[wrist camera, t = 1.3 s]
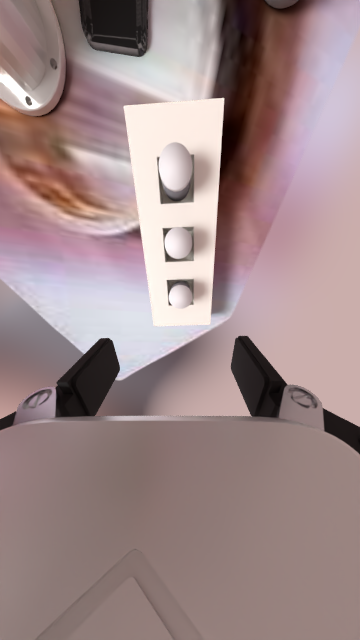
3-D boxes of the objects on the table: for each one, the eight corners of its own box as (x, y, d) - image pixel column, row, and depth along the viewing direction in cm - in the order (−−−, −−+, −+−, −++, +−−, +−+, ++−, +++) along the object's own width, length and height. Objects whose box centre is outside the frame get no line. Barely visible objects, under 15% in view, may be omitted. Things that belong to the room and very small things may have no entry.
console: (136, 138, 21) (123, 105, 16) (214, 132, 21) (224, 97, 16) (157, 316, 34) (153, 326, 29) (206, 315, 33) (210, 324, 29)
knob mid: (166, 232, 23) (163, 227, 19) (190, 231, 23) (192, 226, 19) (168, 258, 24) (165, 259, 21) (190, 257, 24) (192, 258, 20)
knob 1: (161, 166, 19) (156, 143, 15) (190, 164, 19) (192, 141, 15) (164, 202, 21) (160, 189, 17) (190, 200, 21) (192, 187, 17)
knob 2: (169, 281, 26) (167, 286, 22) (190, 280, 26) (192, 285, 22) (171, 301, 28) (169, 309, 24) (190, 301, 28) (192, 308, 24)
